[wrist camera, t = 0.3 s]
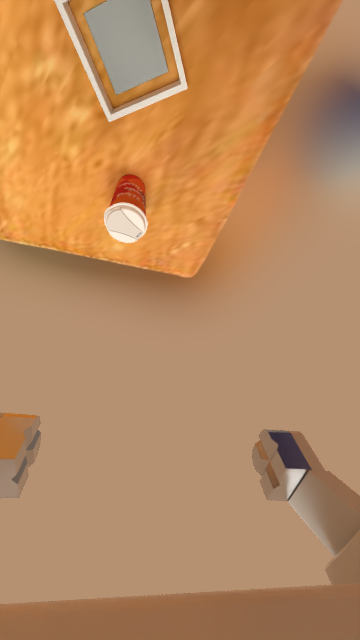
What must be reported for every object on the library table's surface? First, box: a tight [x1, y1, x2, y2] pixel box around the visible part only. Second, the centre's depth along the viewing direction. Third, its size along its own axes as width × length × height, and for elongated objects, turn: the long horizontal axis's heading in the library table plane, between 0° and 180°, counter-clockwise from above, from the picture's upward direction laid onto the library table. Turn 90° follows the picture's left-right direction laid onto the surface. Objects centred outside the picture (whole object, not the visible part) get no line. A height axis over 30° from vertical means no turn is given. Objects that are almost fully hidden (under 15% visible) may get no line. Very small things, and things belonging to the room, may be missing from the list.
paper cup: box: [104, 175, 147, 243], centre depth 50 cm, size 8×8×14 cm
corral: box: [54, 0, 188, 122], centre depth 37 cm, size 14×14×3 cm
